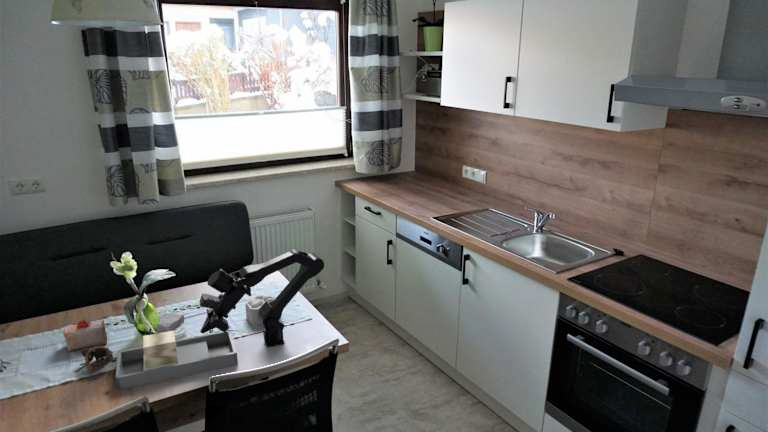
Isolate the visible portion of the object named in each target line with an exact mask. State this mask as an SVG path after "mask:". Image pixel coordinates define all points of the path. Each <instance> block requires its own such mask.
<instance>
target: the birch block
mask: <svg viewBox="0 0 768 432" xmlns="http://www.w3.org/2000/svg"><path fill="white" fill-rule="evenodd" d="M176 340H177V339H176V333H175V330H173V331H168V332H163V333H153V334H147V335H143V336H142V347H143V351H144V358H145V364H146V369H147V368H151V367H156V366H161V365H166V364H171V363H176V362H178V356H177V347H176Z"/></svg>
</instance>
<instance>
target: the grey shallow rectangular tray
mask: <svg viewBox="0 0 768 432" xmlns="http://www.w3.org/2000/svg"><path fill="white" fill-rule="evenodd" d="M176 347H177V356H178V362H176V363H171V364H166V365H161V366H156V367H151V368H147V369H146V364H145V358H144V351H143V346H139V347H133V348H129V349H124V350H119V351H117V359H116V370H115V383H116V384H115V385H116V391H121V390H125V389H130V388H134V387H139V386H140V387H141V386H143V385H149V384H152V383H158V382H163V381H168V380H171V378H172V379H175V378H179V377H185V376H189V375H194V374H197V373H198V374H199V373H204V372H208V371H212V370H217V369H223V368H225V367H226V368H227V367H230V366H236V365H239V360H238V352H237V348H236V346H235V341H234V338H233V334H232V331H231V329H228V330H227V331H226V332H223V331H217V332H213V333H208V334H207V333H206V334H201V335H196V336H191V337H186V338H181V339H176Z"/></svg>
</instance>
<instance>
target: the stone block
mask: <svg viewBox="0 0 768 432" xmlns="http://www.w3.org/2000/svg"><path fill="white" fill-rule="evenodd" d="M159 317H160V322H159V323H158V324H157V326H158V328H157V333H163V332H168V331H173V330H174V331H175V330H176V329H177V328H178V327H179V326H181V324H183V323H184V322H185V316H184V314H182V313H177V312H166V313H164V314H161V315H160V316H159ZM157 333H156V334H157Z"/></svg>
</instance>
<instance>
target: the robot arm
mask: <svg viewBox="0 0 768 432" xmlns="http://www.w3.org/2000/svg"><path fill="white" fill-rule="evenodd" d="M296 263H297V264H299V265H300V267H299V269H298V271H297V273H295V275H294V277H292V279H291V280H290V281H289V282H288V284H287V285H286V286H285V287H284V288H283V289H282V290H281V292H280V293H279V294H278V295H277V296H275V297H276V299H275V300H274V301H272V302H270V303H268V302H267V301H266V302H265V303H264V304H263V306H262V307H261V308H259V312H258V318H259V320H260V321H261V323H262V326H263V327H264V330H263V341H264V344H266V346H267V347H268V348H269V347H273V346H279V345H283V344H285V339H284V329H285V324H284V323H283V321H282V320H281V318H282V316H283V311H284V309H285V308H286V307H287V306H288V304H289V303H290V302H291V301H292V300H293V299H294V297H295V296H296V295H297V294H298V292H299V291H301V289H302V288H303V287H304V285H305V284H306V283H307V282H308V281H309V280H310V279H313V278H315V277H316V276H318V275H319V274H320V273H321V272H323V270H324V269H325V261H324V260H323V259H322V258H321V257H319V256H318V255H317V254H316V253H308V252H305V251H301V250H298V249H295V248H294V249H291V250H289V251H287V252H285V253H283V254H281V255H280V254H279V255H278V256H276V257H274V258H271V259H269V260H267V261H265V262H263V263H259V264H250V265H246V266H243V267H242V268H240V270H237V271H234V272H231V273H229V274H228V273H227V272H226V271H225V270H223V269H222V268H220V269H218V270H216V271H215V272H213V273H211V275H210V276H209V278H208V279H207V286H209V287H211V288H213V289H214V290H215V291H217V292H219V293H220V294H219V295H218V296H216V295H213V294H208V293H204V292H203V293H202V294H201V297H200V298H199V306H200V307H201V308H207V309H206V318H205V320H204V322H203V324H202V326H201V328H200V331H199V332H200V333H201V334H205V333H207V332H209V331H212V330H214V329H218V330H220V332H222V331H223V332H226V331H227V330H230V325H229V321H228V320H227V319H228V318H229V314H230V313H231V311H232V310H236V308H237V306H236V305H238V303H239V302H240V301H241V299H243V297H244V296H245V295H247V296H248V297H252V293H251V292H252V288H253V287H255V286H257V285H258V284H260V283H261V282H262V281H264V279H265V278H266V277H268V276H270V275H271V274H274V273H276V272H278V271H281V270H283V269H284V268H287V267H289V266H291V265H293V264H296Z"/></svg>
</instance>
